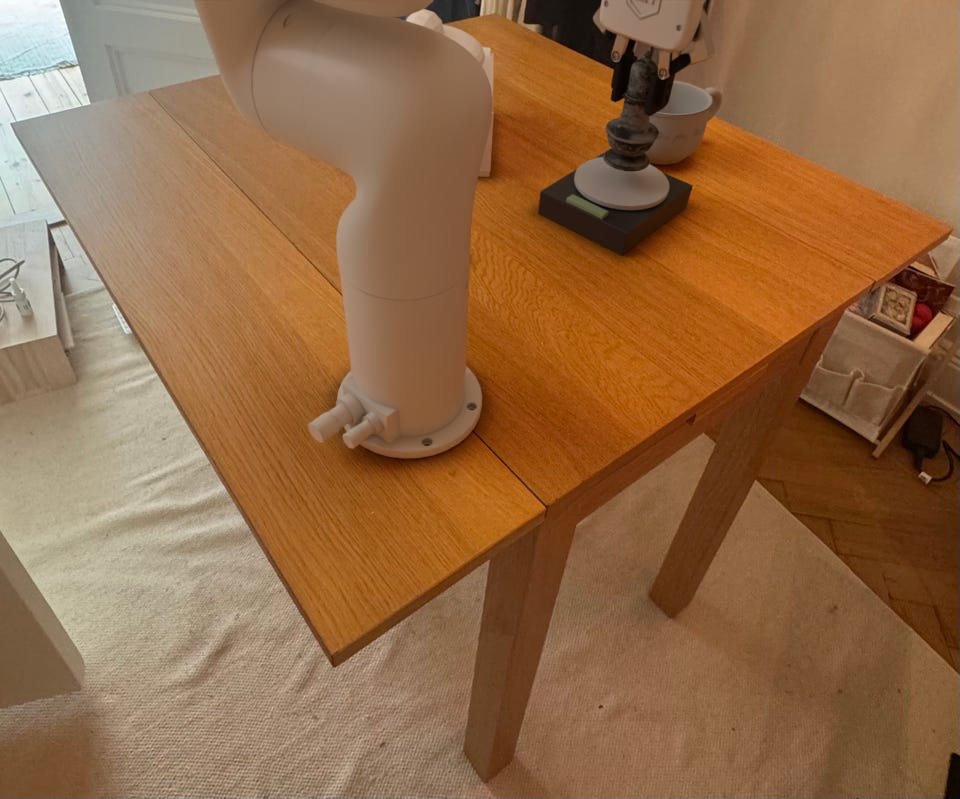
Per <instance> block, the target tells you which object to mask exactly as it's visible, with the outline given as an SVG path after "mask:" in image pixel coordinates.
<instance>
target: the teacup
mask: <svg viewBox="0 0 960 799" xmlns="http://www.w3.org/2000/svg"><path fill="white" fill-rule="evenodd" d="M722 103H723V94H722V92H721V91H720V89H718V88H716V87H714V86H709V87H706V88H704V89H703V88H702V87H699V86H698V85H695V84H692V83H688V82H685V81H681V80H674V82H673V86H672V90H671V95H670V99H669V102H668V104H667V105H666V106H665V107H664V108H663V109H661V110H660V111H658V112H656V113H655V114H653V115H651V116H649V121H650V123H652V124H653V125H655V126H656V127H657V128H658V131H659V136H658V138H657V139H656V140H654V144H653V145H652V146H651V148H650V149H649V150H648V151H647V152H645V154H646V155H647V156H648V157H649V160H650V163H649V164H651V165H671V164H677V163H679V162H681V161H683V160H684V159H686V158H688V157H689V156H692V155H693V154H694V153H695V152H697V150H698V148H700V145H701V143H702V140H703V138H704V135H705V131H706V127H707V124H708V122H709V121H710V120H712V119H713V118H714V117H715V115H716V114H717V113H718V111H719V110H720V108H721V106H722Z"/></svg>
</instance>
